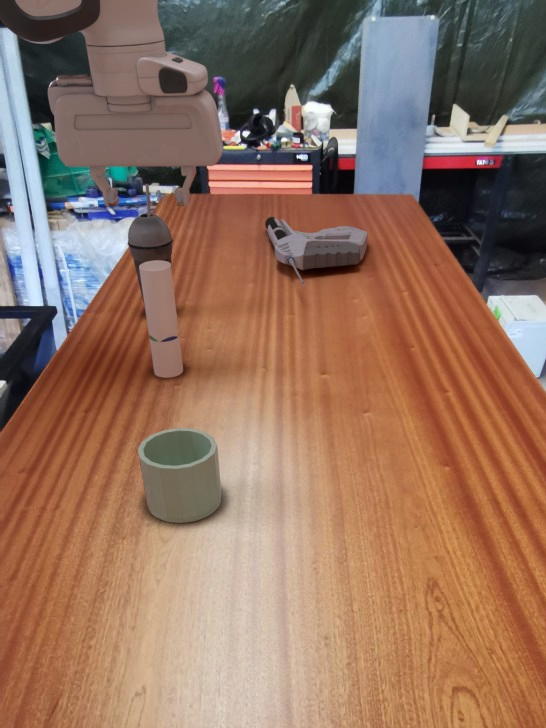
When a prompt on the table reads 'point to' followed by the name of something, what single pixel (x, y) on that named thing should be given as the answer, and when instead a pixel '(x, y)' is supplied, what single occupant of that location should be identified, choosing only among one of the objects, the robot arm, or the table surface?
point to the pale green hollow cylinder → (180, 474)
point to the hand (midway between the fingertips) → (147, 205)
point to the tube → (161, 317)
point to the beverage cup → (149, 239)
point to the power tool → (316, 246)
